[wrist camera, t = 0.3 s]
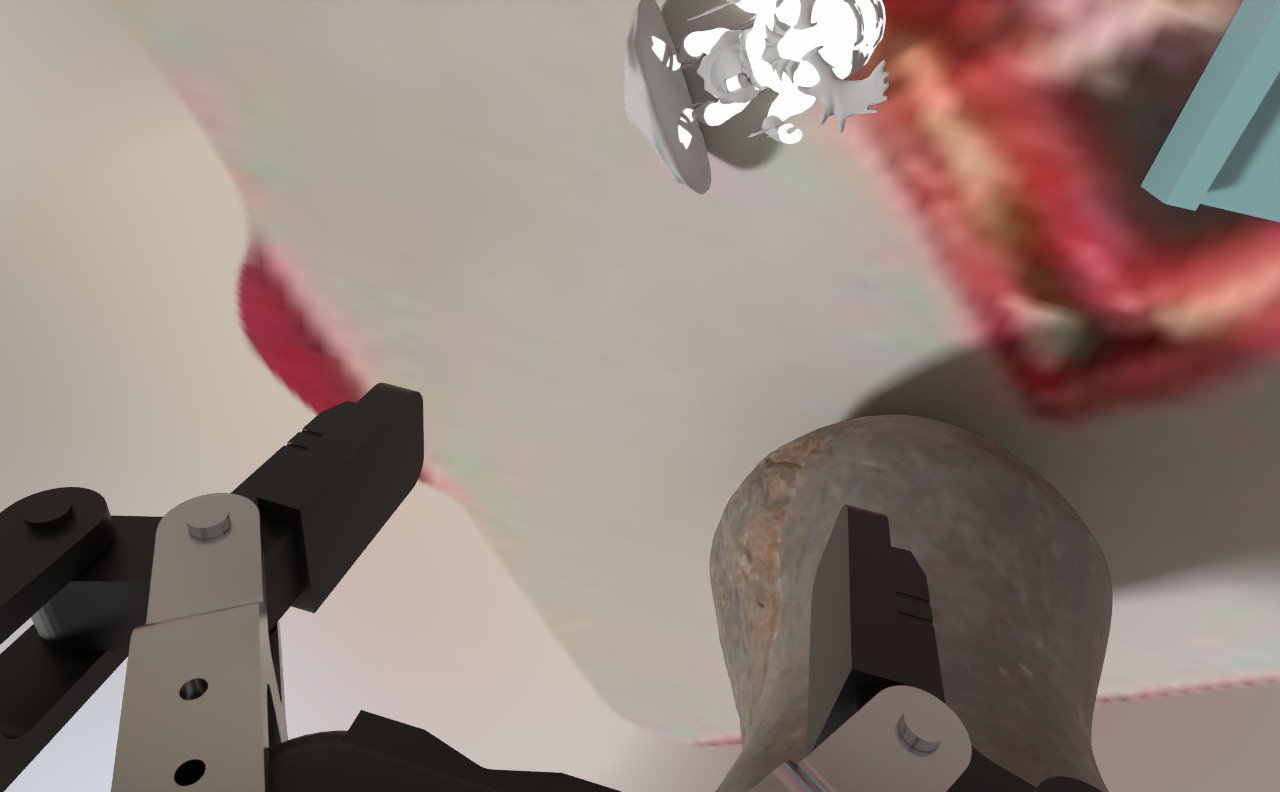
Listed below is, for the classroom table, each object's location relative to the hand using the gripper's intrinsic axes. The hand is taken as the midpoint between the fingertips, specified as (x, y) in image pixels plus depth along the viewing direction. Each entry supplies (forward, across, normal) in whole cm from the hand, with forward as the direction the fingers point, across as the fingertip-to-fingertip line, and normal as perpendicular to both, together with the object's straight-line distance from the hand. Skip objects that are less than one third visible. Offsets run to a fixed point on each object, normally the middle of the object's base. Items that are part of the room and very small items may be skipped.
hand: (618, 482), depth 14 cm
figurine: (+29, +1, -4) cm, 29 cm away
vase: (+29, -13, +19) cm, 36 cm away
